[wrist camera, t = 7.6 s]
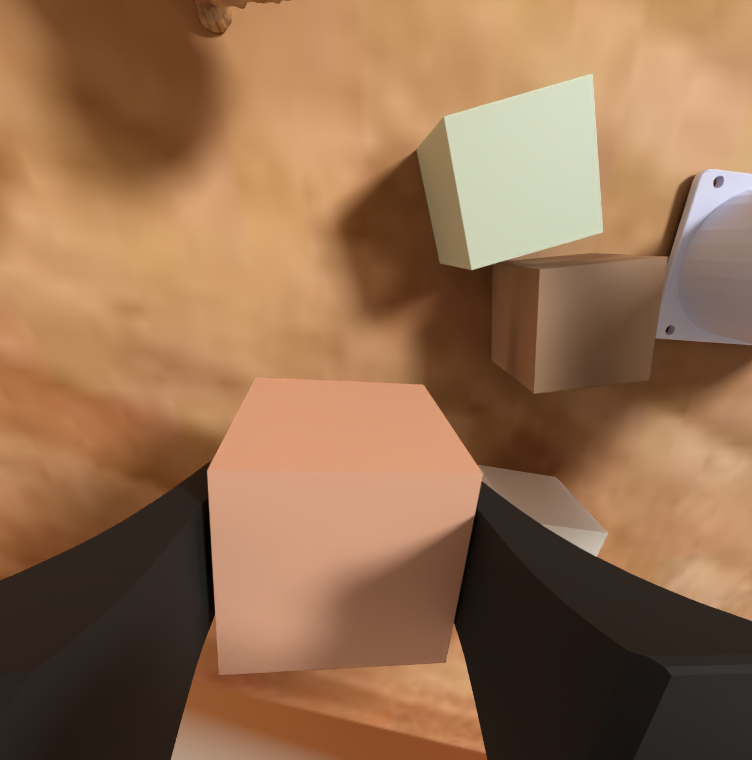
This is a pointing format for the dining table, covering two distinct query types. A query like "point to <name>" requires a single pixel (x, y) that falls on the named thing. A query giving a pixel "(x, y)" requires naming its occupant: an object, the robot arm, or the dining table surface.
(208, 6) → the lion figurine
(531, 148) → the sage block
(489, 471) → the pale grey block
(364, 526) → the terracotta block
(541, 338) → the walnut block
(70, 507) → the dining table surface
